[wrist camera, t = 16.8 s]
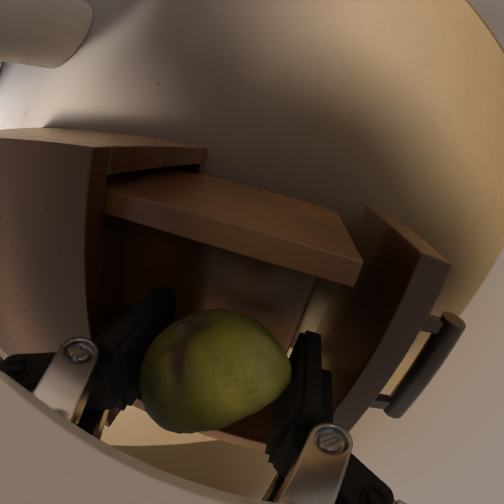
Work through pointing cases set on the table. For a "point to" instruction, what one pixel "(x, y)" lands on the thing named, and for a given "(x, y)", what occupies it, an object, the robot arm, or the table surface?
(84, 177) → the cabinet
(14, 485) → the robot arm
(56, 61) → the bottle
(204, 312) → the lime
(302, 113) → the table surface
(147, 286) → the drawer
